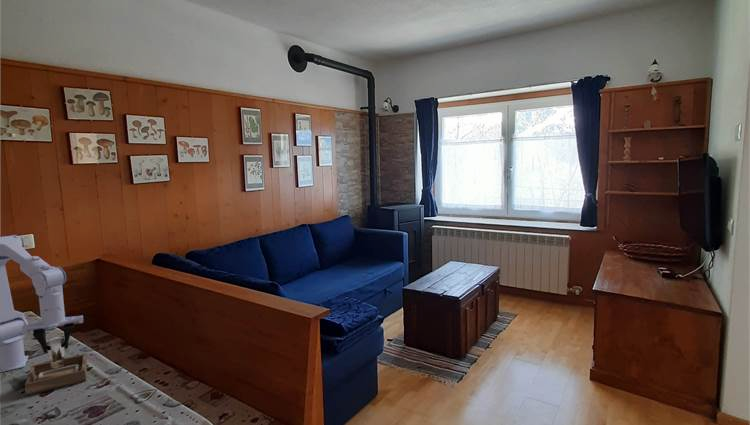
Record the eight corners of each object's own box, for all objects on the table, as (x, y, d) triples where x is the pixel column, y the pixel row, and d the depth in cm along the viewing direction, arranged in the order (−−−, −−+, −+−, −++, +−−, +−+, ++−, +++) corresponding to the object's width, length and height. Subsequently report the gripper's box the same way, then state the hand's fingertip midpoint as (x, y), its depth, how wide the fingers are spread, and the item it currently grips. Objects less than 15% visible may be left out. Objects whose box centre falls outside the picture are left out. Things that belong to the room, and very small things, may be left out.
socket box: (32, 376, 124) (31, 365, 124) (87, 363, 132) (86, 353, 132) (25, 396, 113) (24, 384, 112) (85, 381, 121) (85, 370, 120)
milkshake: (57, 371, 120) (55, 341, 119) (44, 367, 122) (42, 338, 120) (72, 363, 125) (70, 334, 123) (59, 360, 126) (57, 331, 124)
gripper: (18, 316, 113) (23, 361, 114) (81, 306, 121) (84, 348, 122) (22, 309, 118) (26, 352, 120) (81, 300, 127) (85, 340, 128)
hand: (56, 349), depth 121 cm, fingers closed on milkshake, 4 cm apart
